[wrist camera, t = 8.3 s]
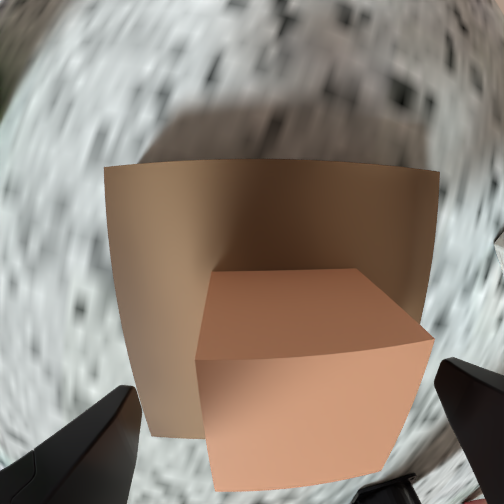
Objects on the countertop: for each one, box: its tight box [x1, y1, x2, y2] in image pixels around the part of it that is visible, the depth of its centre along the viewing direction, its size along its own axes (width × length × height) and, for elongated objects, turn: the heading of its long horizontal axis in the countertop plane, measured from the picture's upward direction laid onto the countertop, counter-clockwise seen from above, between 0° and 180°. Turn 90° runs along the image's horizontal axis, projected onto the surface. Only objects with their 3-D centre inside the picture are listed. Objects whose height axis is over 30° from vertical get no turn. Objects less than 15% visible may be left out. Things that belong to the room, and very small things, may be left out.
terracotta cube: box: [195, 268, 435, 492], centre depth 8 cm, size 5×5×5 cm
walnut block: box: [104, 159, 440, 439], centre depth 13 cm, size 12×12×4 cm
